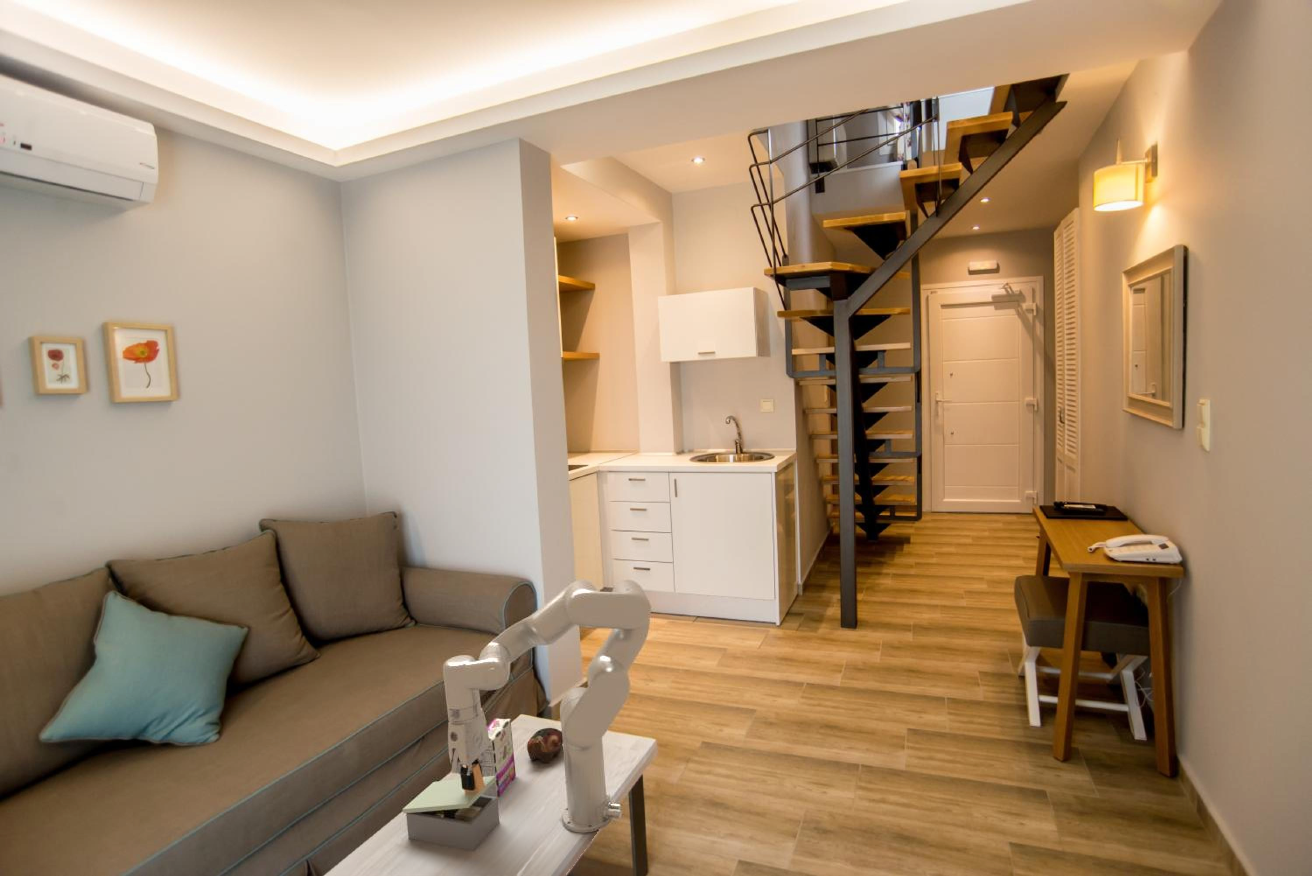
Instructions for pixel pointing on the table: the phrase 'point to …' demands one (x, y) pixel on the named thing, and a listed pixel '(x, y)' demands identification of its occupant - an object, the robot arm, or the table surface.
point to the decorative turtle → (545, 744)
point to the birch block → (467, 813)
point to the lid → (450, 794)
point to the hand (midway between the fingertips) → (472, 784)
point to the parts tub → (455, 825)
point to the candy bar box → (499, 756)
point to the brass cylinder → (437, 813)
